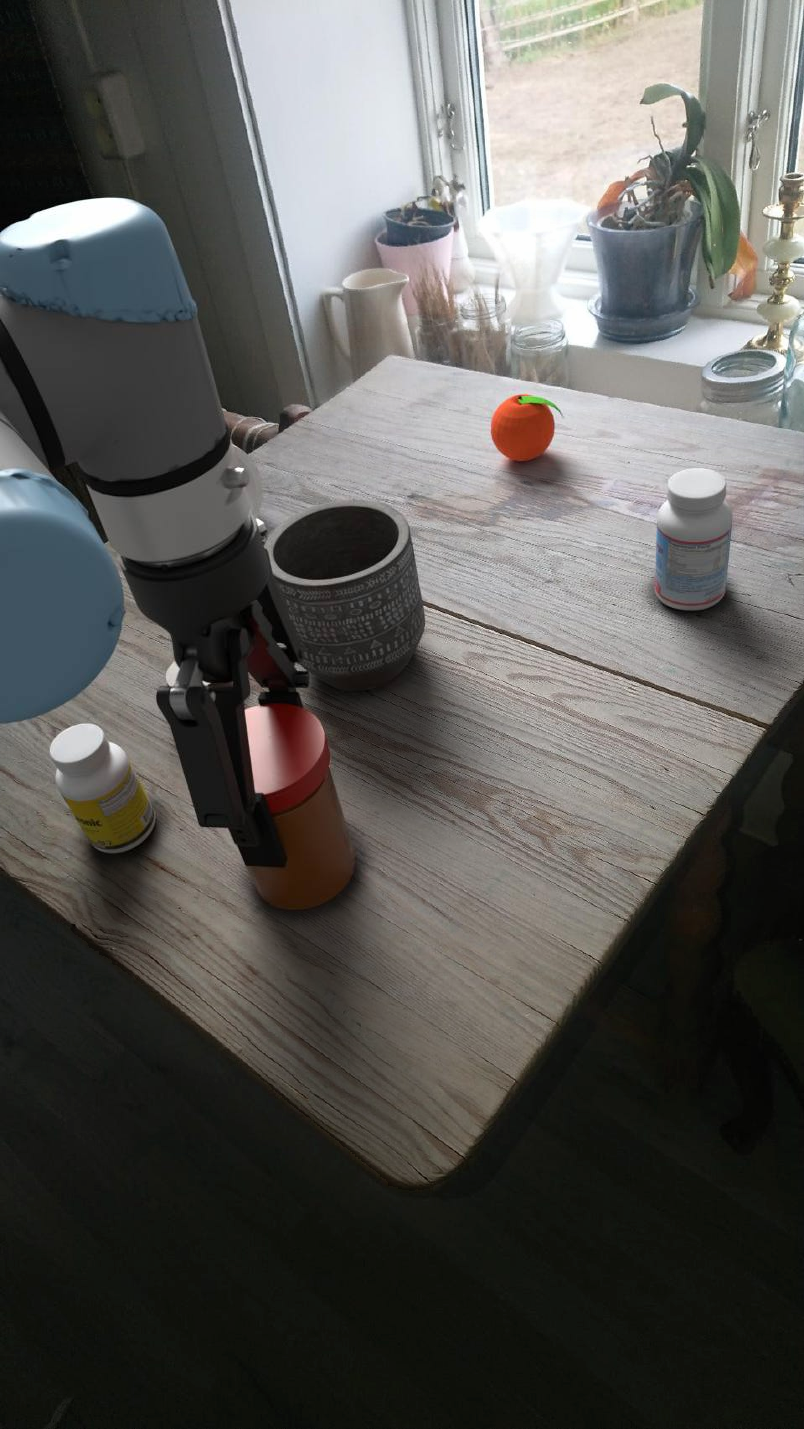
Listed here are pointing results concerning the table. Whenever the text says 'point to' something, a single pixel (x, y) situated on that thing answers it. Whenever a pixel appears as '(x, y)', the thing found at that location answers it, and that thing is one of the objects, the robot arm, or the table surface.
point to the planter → (350, 590)
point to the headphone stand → (252, 484)
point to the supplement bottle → (101, 789)
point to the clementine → (523, 427)
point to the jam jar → (309, 852)
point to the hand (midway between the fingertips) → (283, 809)
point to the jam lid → (286, 753)
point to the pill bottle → (693, 540)
